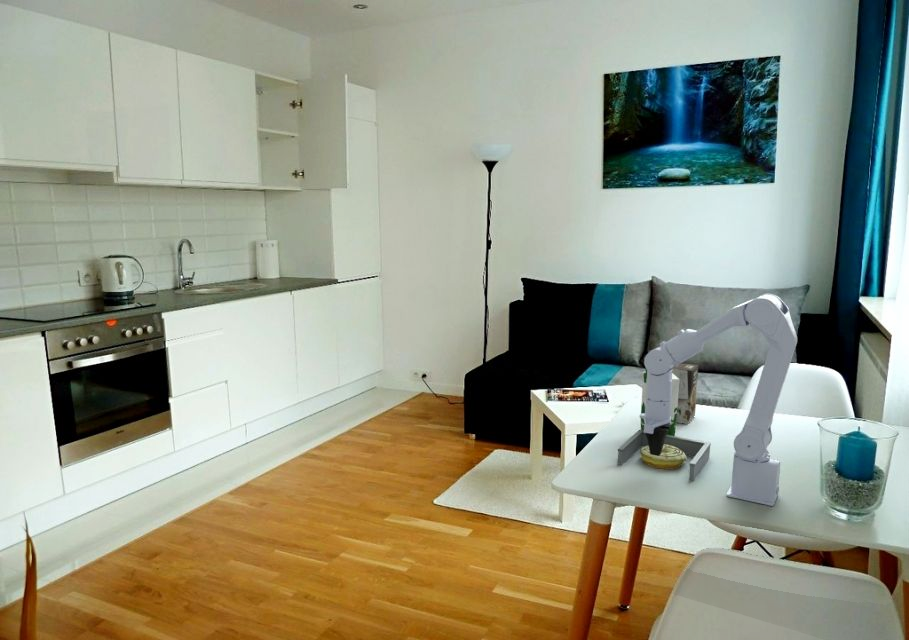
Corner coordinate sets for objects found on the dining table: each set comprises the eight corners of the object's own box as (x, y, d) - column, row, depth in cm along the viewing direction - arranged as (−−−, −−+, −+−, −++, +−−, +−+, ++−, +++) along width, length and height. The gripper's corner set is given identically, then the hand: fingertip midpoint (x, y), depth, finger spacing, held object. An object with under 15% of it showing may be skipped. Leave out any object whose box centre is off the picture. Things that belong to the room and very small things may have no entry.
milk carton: (636, 433, 189) (640, 363, 186) (669, 434, 189) (673, 364, 186) (644, 444, 181) (648, 371, 177) (678, 445, 180) (683, 371, 177)
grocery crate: (709, 458, 171) (710, 442, 171) (693, 481, 157) (695, 464, 156) (638, 444, 181) (639, 429, 180) (617, 464, 166) (617, 448, 166)
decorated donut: (694, 464, 168) (695, 450, 167) (668, 475, 161) (669, 459, 160) (658, 452, 176) (659, 438, 175) (632, 461, 169) (632, 447, 169)
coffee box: (688, 425, 197) (692, 370, 195) (666, 421, 201) (669, 367, 198) (695, 416, 205) (699, 364, 202) (674, 413, 208) (677, 361, 206)
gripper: (650, 389, 166) (647, 442, 169) (631, 403, 154) (629, 460, 156) (679, 393, 163) (676, 447, 165) (663, 408, 151) (659, 466, 153)
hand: (655, 454), depth 160 cm, fingers closed
